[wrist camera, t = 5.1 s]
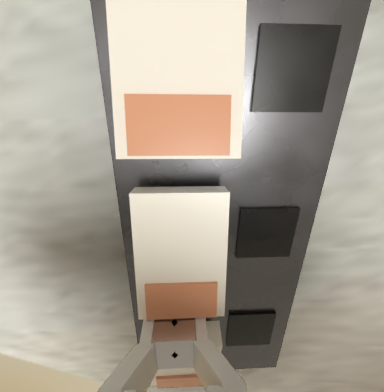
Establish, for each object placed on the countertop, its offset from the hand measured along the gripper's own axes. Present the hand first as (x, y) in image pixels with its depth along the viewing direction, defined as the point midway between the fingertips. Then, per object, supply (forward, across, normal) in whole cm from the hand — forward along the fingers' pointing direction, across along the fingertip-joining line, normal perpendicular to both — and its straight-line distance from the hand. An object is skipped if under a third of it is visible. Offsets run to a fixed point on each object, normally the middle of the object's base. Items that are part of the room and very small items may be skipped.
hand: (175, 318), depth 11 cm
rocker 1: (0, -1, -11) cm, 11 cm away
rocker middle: (0, 0, -4) cm, 4 cm away
